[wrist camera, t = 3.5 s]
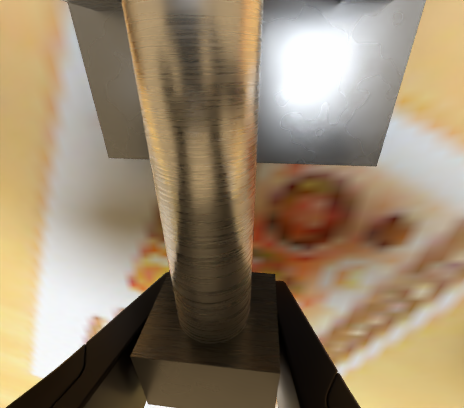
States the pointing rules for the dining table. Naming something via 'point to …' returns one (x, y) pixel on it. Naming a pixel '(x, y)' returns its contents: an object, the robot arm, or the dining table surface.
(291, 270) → the dining table surface
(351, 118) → the bracket
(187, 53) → the shaft
